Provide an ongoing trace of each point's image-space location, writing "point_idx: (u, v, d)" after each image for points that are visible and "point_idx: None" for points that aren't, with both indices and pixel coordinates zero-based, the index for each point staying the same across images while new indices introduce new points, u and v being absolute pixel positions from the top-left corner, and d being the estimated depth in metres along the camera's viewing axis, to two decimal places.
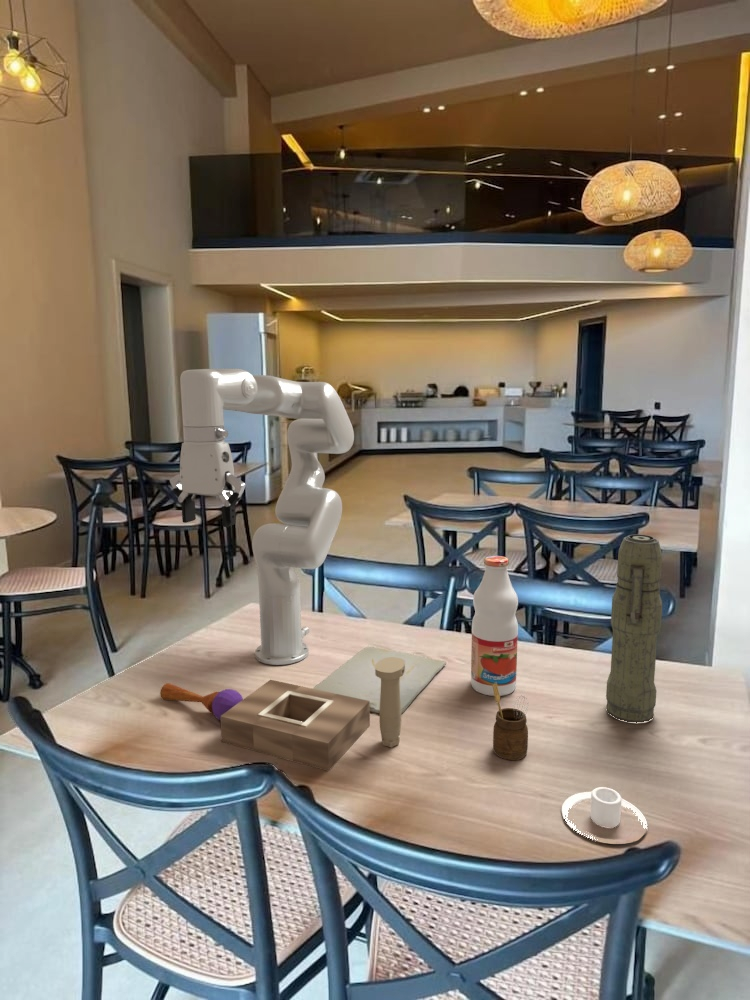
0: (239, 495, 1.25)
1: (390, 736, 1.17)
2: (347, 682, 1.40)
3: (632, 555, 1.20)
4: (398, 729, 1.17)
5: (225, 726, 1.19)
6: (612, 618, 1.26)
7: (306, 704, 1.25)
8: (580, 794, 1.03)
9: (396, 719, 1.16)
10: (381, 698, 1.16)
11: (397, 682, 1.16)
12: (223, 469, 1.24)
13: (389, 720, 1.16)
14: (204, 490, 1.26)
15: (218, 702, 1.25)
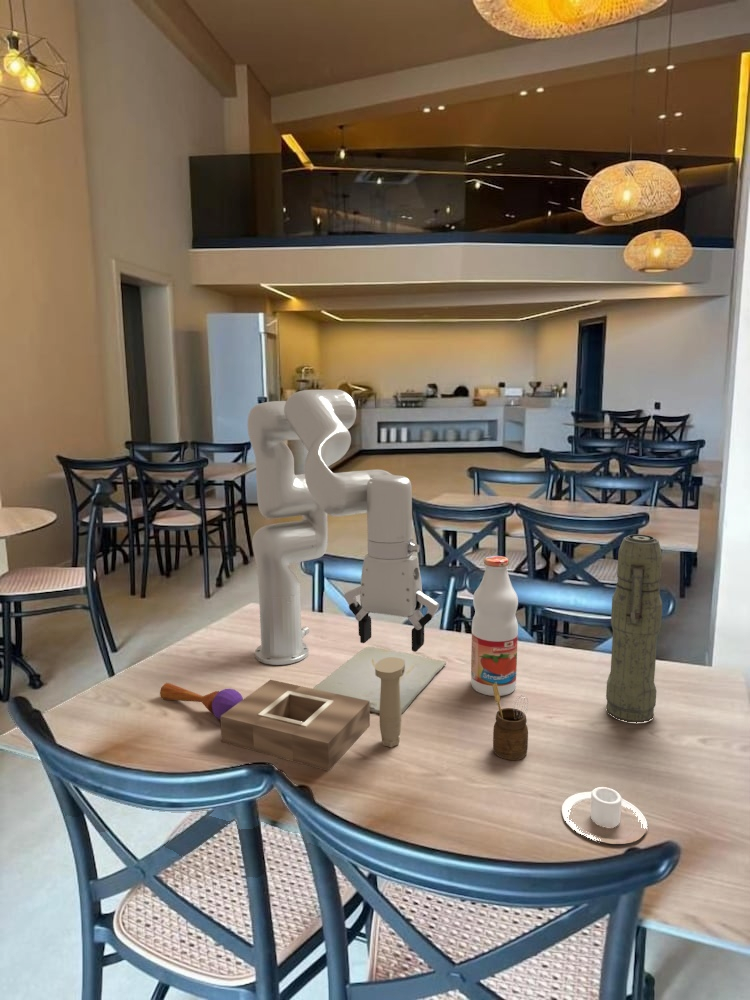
0: (432, 617, 1.11)
1: (390, 736, 1.17)
2: (347, 682, 1.40)
3: (632, 555, 1.20)
4: (398, 729, 1.17)
5: (225, 726, 1.19)
6: (612, 618, 1.26)
7: (306, 704, 1.25)
8: (580, 794, 1.03)
9: (396, 719, 1.16)
10: (381, 698, 1.16)
11: (397, 682, 1.16)
12: (415, 588, 1.10)
13: (389, 720, 1.16)
14: (391, 611, 1.12)
15: (218, 702, 1.25)
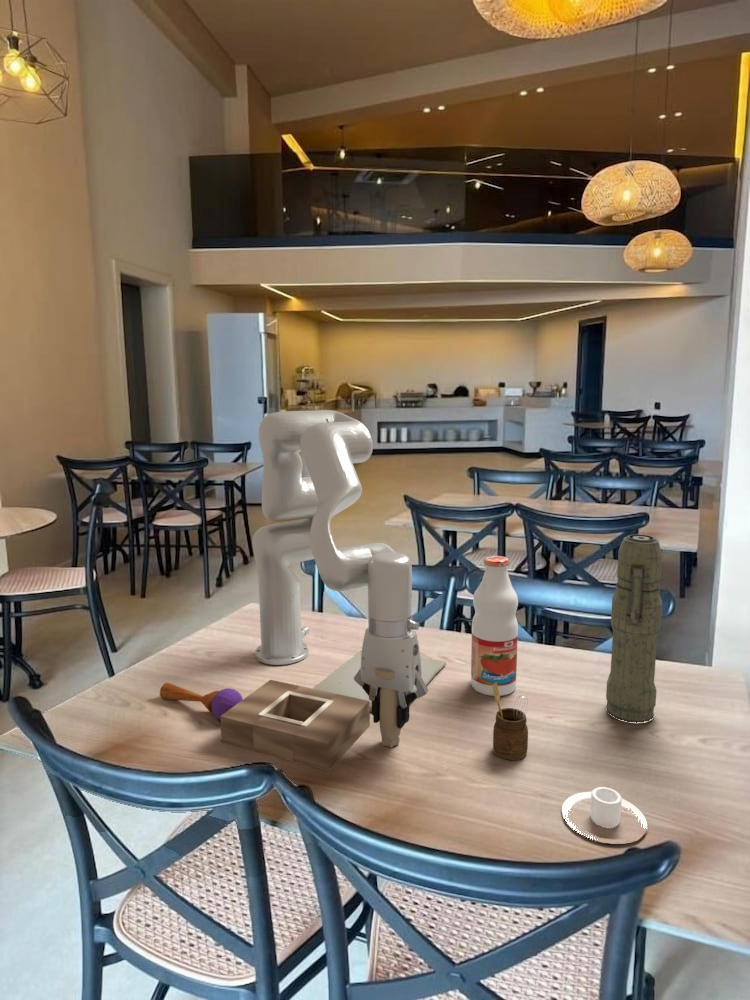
0: None
1: (390, 736, 1.17)
2: (347, 682, 1.40)
3: (632, 555, 1.20)
4: (398, 729, 1.17)
5: (225, 726, 1.19)
6: (612, 618, 1.25)
7: (306, 704, 1.25)
8: (580, 794, 1.03)
9: (396, 719, 1.16)
10: (381, 698, 1.16)
11: None
12: (414, 664, 1.13)
13: (389, 720, 1.16)
14: (391, 685, 1.14)
15: (217, 701, 1.26)
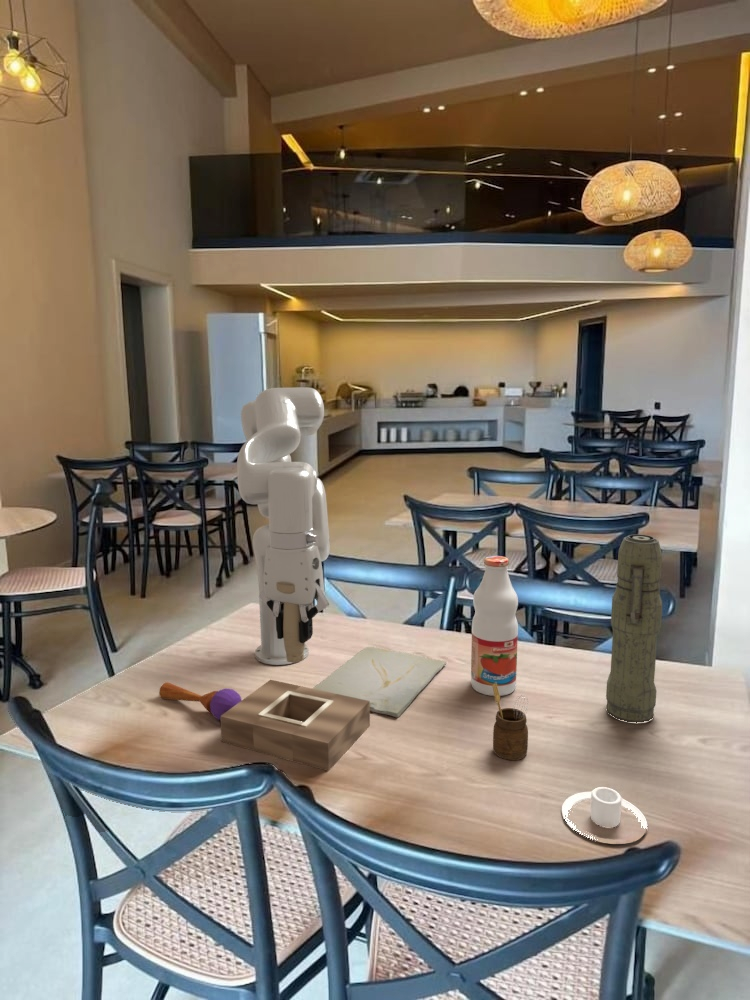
0: None
1: (293, 651, 1.18)
2: (347, 682, 1.40)
3: (632, 555, 1.20)
4: (301, 645, 1.18)
5: (225, 726, 1.19)
6: (612, 618, 1.26)
7: (306, 704, 1.25)
8: (580, 794, 1.03)
9: (298, 634, 1.17)
10: (284, 613, 1.17)
11: None
12: (314, 577, 1.14)
13: (291, 634, 1.17)
14: (292, 599, 1.15)
15: (216, 701, 1.25)
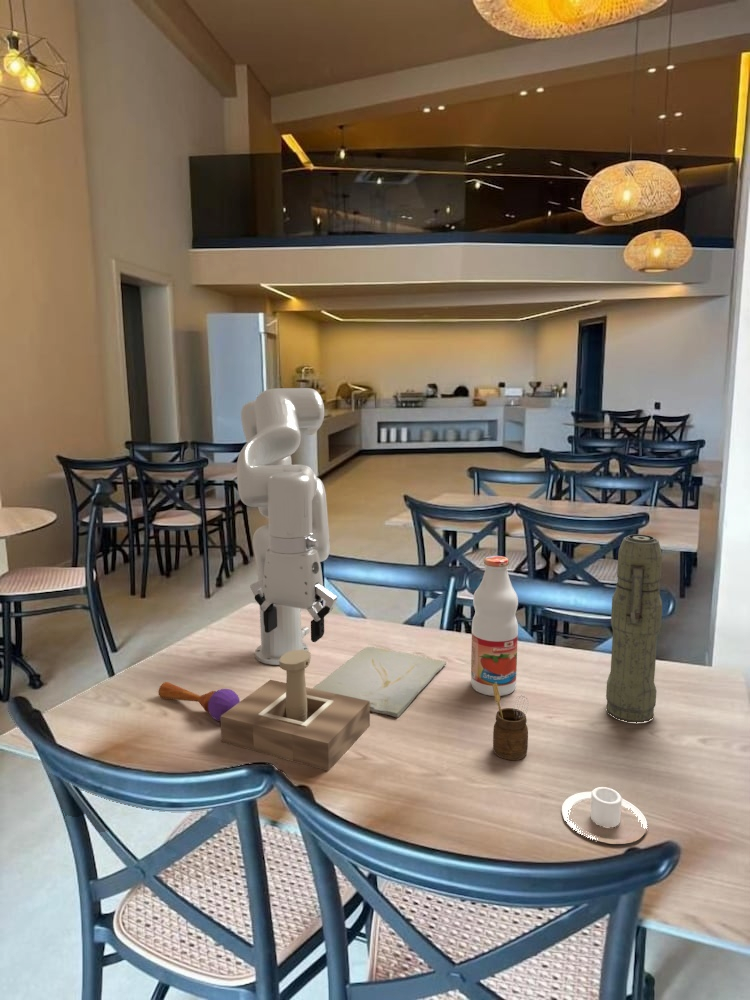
0: (330, 609, 1.15)
1: None
2: (347, 682, 1.40)
3: (632, 555, 1.20)
4: (303, 719, 1.21)
5: (225, 726, 1.19)
6: (612, 618, 1.26)
7: None
8: (580, 794, 1.03)
9: (301, 710, 1.20)
10: (286, 689, 1.20)
11: (301, 674, 1.19)
12: (313, 581, 1.14)
13: (294, 710, 1.20)
14: (291, 603, 1.16)
15: (213, 702, 1.25)
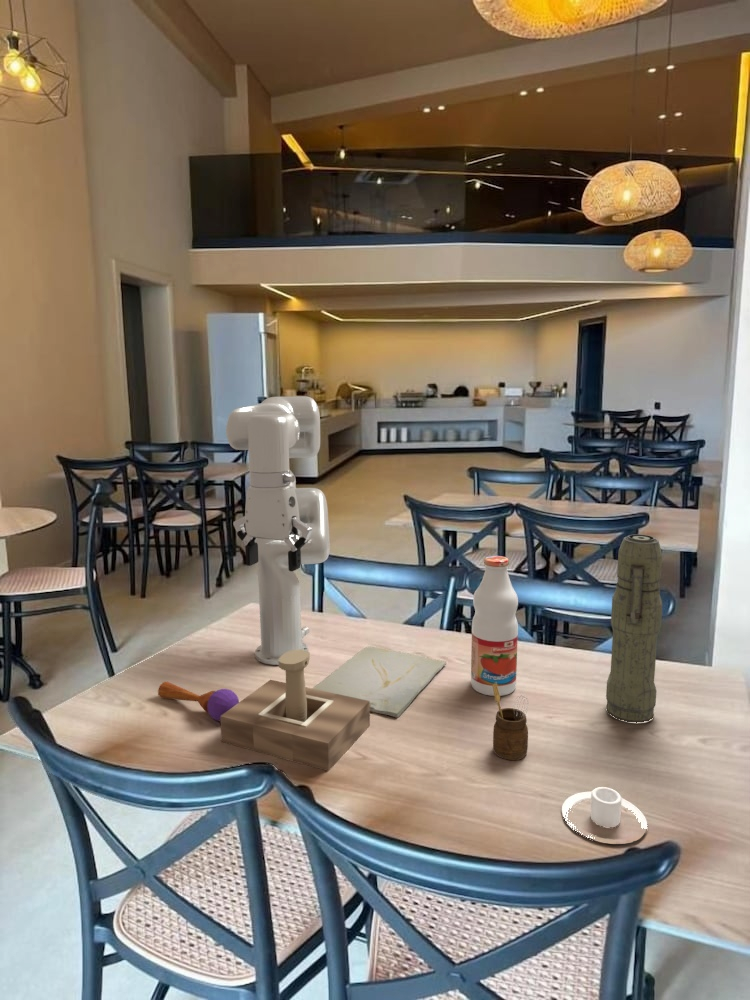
0: (306, 540, 1.25)
1: None
2: (347, 682, 1.40)
3: (632, 555, 1.20)
4: (303, 719, 1.21)
5: (225, 726, 1.19)
6: (612, 618, 1.26)
7: None
8: (580, 794, 1.03)
9: (300, 709, 1.20)
10: (286, 689, 1.20)
11: (300, 673, 1.19)
12: (290, 514, 1.24)
13: (293, 710, 1.20)
14: (270, 535, 1.26)
15: (212, 702, 1.25)
